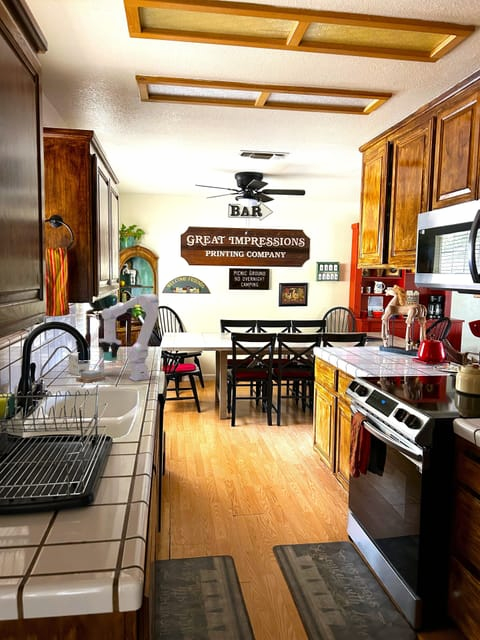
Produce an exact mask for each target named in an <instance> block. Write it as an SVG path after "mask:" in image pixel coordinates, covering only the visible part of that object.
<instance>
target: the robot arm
mask: <svg viewBox="0 0 480 640" xmlns="http://www.w3.org/2000/svg"><path fill="white" fill-rule="evenodd" d="M159 304H160V300H159V298H158V295H156V294H155V293H148V294H147V293H146V294H145V293H143V294H142V293H141V294H140V295H136V296H135V297H133V298H131V299H130V300H128V301H125V302H119V301H118V302H116V304H115V305H113V306H112V305H110V307H109V308H104V309H103V310H102V311H101V314H100V315H101V317H102V319H103V329H104V330H103V333H104V338H99V339H98V342H99V343H100V344H99V346H100V348H101V349H102V352H103V353H104V352H110V350H111V351H112V358H115V357H116V355H117V356H118V351H119V349H120V347H121V345H122V340H121V339H117V338H116V337H117V336H116V334H117V333H116V322H117V318H118V317H119V316H122V315H124V314H125V313H126V312H127V311H128V310H129V309H130V308H133V307H135V306H140V308H141V309H142V310H143V311H144V312H145V317H144V320H143V323H142V326H141V329H140V331H139V334H138V337H137V339H136V342H135V343H134V344H133V345H132V347H131V349H129V351H128V352H127V358H128V360H129V361H130V372H131V376H128V379H130V380H132V381H134V382H137V381H145V380H146V381H147V380H150V379H151V377H149V368H148V367H149V366H148V365H147V363H146V360H147V358H148V356H149V349H150V348H149V345H148V343H149V340H150V338H151V335H152V333H153V330H154V327H155V324H156V321H157V319H158V317H159Z"/></svg>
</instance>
